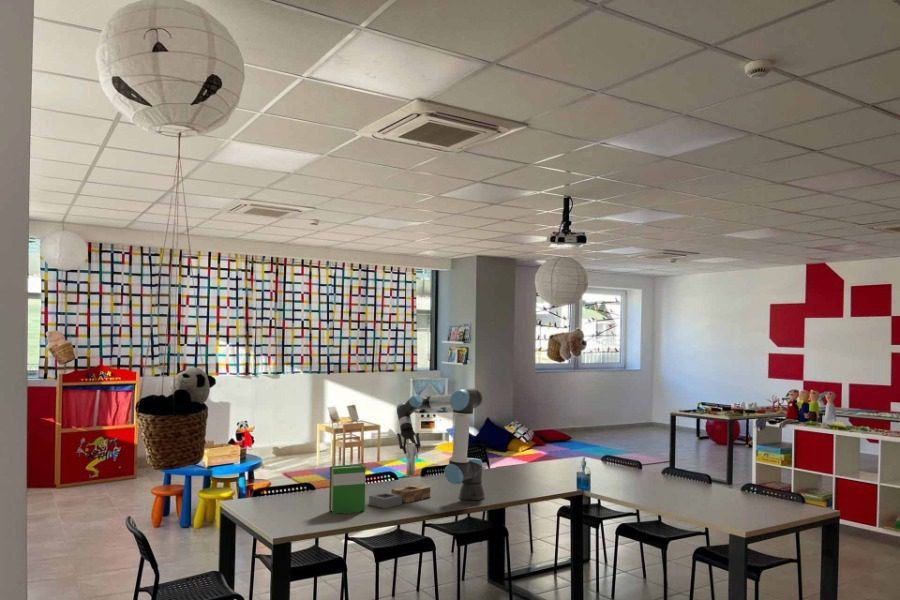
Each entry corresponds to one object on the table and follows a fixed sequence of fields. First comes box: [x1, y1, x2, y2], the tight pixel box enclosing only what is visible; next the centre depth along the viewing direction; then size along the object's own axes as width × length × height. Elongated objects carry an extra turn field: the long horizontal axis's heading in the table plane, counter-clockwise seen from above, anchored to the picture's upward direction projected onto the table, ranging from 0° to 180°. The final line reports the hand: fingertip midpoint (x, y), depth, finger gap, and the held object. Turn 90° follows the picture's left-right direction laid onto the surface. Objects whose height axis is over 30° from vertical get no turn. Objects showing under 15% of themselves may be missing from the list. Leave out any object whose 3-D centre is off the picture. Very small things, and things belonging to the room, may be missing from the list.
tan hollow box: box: [391, 484, 431, 503], centre depth 401 cm, size 12×20×6 cm, turn 137°
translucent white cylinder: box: [406, 442, 416, 476], centre depth 402 cm, size 5×5×18 cm
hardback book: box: [328, 464, 366, 515], centre depth 369 cm, size 18×7×24 cm, turn 114°
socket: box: [368, 491, 403, 509], centre depth 385 cm, size 13×13×5 cm
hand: (412, 457), depth 399 cm, fingers closed on translucent white cylinder, 5 cm apart
